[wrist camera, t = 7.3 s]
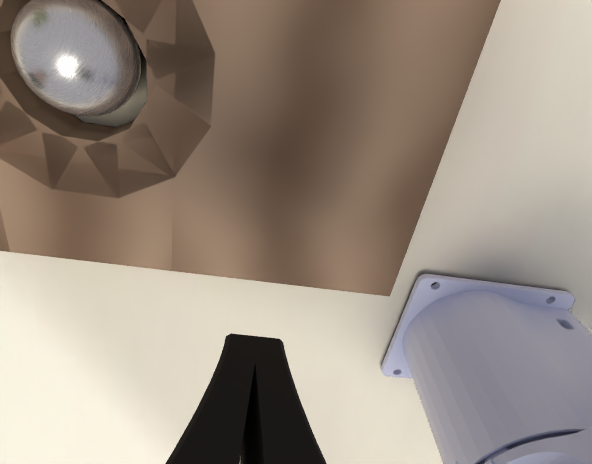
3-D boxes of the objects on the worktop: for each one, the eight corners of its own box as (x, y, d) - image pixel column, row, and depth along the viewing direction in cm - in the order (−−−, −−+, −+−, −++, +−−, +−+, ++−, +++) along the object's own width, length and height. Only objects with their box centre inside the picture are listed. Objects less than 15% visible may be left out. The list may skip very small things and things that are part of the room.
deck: (520, -129, 13) (556, -150, 11) (380, 273, 21) (389, 296, 20) (-135, -300, 11) (-215, -359, 9) (-7, 225, 19) (-35, 246, 17)
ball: (37, -66, 12) (125, 11, 16) (-41, 30, 12) (62, 81, 16) (107, 22, 11) (181, 80, 15) (20, 118, 12) (112, 150, 16)
